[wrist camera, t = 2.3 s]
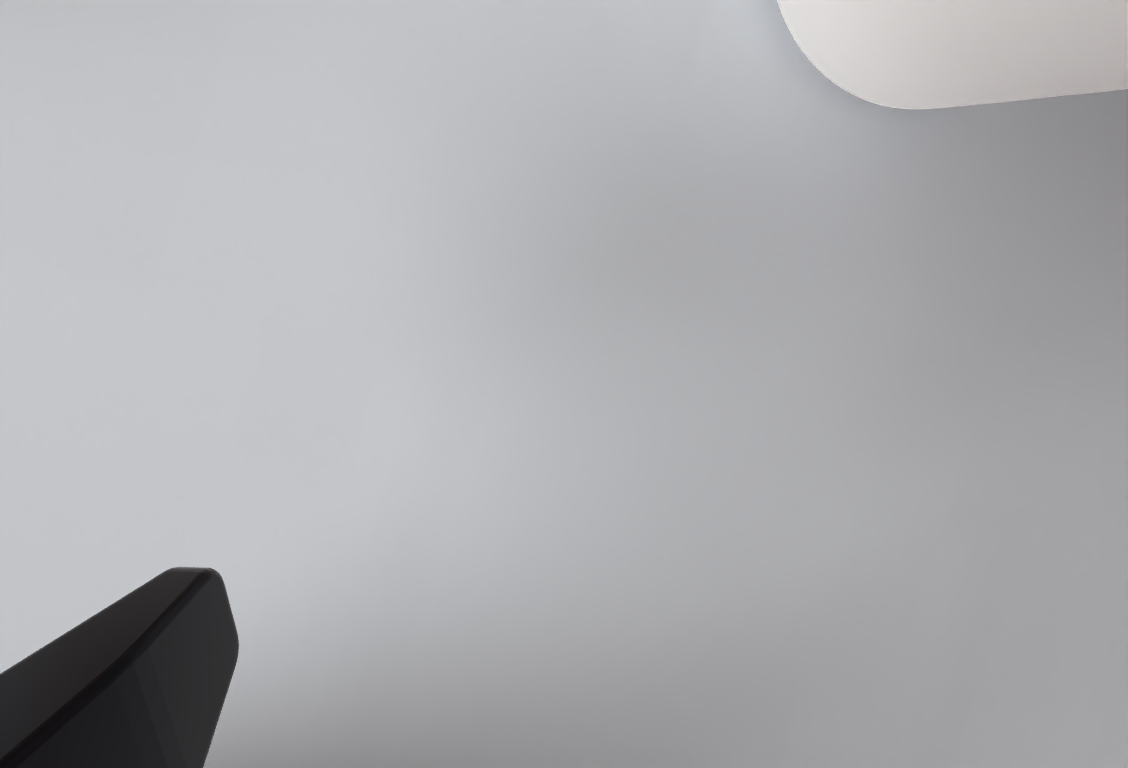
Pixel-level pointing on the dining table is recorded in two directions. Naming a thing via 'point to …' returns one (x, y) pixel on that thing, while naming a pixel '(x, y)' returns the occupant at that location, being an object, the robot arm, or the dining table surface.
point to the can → (963, 48)
